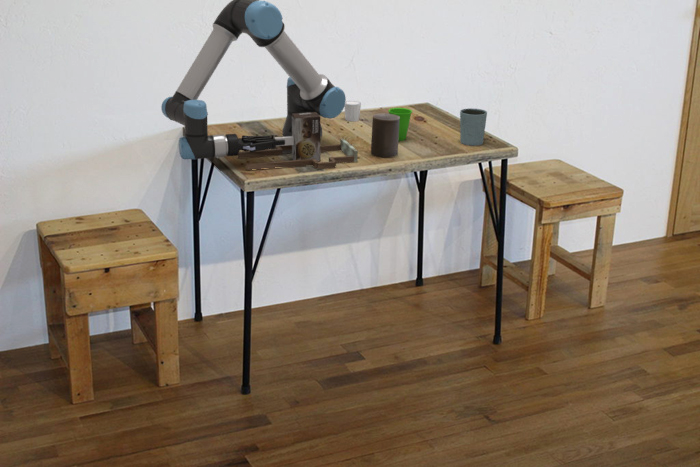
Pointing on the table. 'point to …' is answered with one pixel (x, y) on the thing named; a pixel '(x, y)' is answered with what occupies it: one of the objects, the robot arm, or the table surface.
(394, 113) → the cup
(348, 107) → the white ribbed ramekin
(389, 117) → the pillar candle
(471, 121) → the grey plant pot
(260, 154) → the trap lane
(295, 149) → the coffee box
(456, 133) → the table surface
